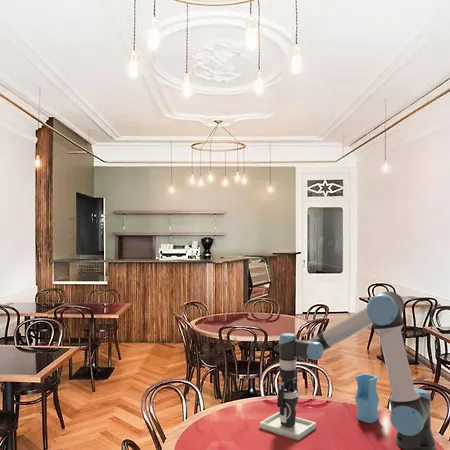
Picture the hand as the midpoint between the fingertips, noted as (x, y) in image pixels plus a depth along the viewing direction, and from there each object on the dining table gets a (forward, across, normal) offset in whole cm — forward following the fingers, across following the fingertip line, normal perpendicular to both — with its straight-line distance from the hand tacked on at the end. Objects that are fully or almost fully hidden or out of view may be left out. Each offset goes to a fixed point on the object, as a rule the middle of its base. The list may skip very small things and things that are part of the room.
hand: (287, 419), depth 204 cm
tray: (+4, 0, 0) cm, 4 cm away
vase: (+4, -33, +24) cm, 41 cm away
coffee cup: (+2, 0, 0) cm, 2 cm away
